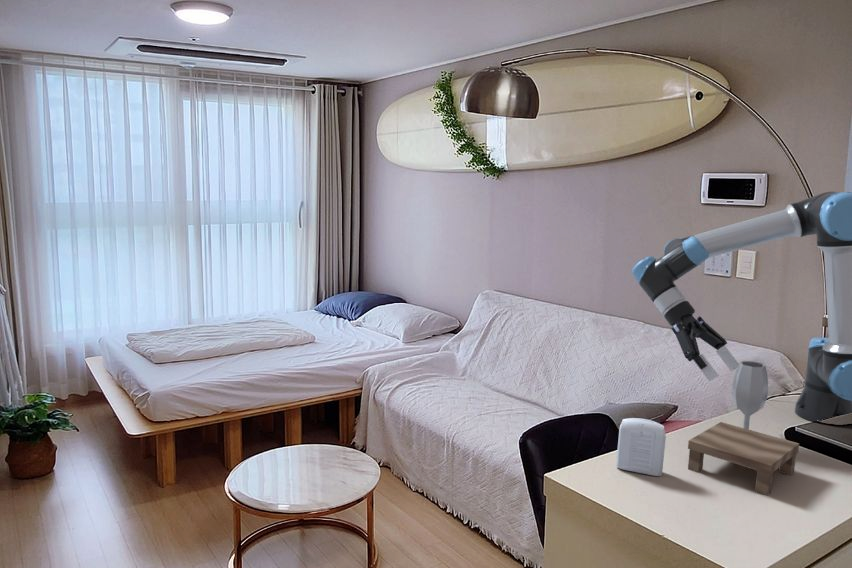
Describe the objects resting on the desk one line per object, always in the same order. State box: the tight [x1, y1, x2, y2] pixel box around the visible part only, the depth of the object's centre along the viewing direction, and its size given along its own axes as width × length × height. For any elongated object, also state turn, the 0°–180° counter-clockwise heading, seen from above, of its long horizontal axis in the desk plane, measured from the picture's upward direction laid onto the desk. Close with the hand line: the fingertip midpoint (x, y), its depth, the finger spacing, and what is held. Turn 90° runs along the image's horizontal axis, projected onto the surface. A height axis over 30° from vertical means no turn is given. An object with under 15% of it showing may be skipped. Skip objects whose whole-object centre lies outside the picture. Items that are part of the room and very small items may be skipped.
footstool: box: [687, 421, 800, 496], centre depth 155 cm, size 18×18×7 cm
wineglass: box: [731, 360, 769, 430], centre depth 171 cm, size 9×9×21 cm
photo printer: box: [615, 417, 667, 477], centre depth 154 cm, size 10×4×12 cm, turn 67°
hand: (725, 373), depth 173 cm, fingers open, 13 cm apart
